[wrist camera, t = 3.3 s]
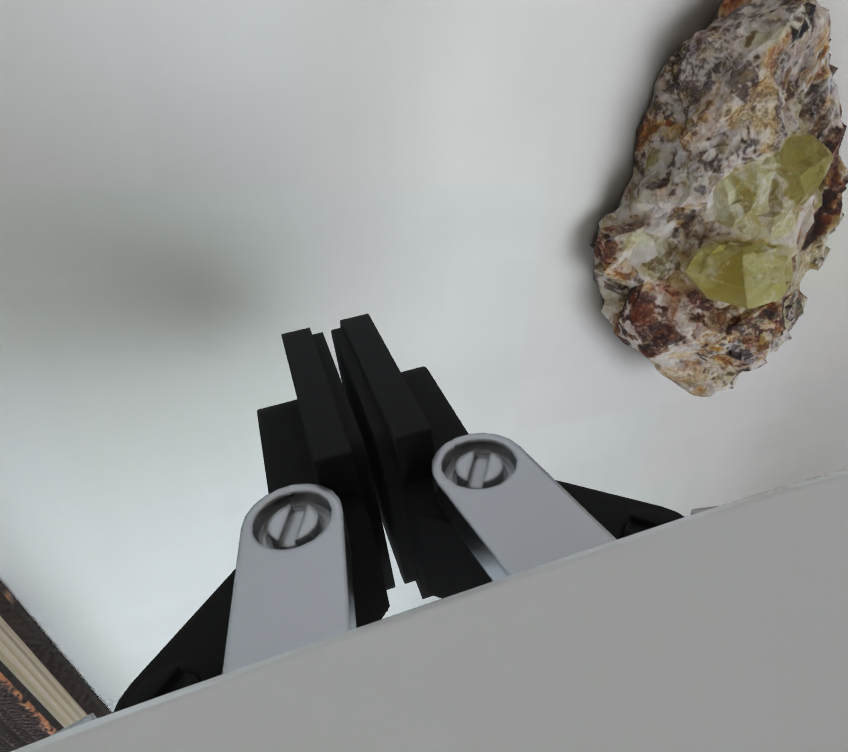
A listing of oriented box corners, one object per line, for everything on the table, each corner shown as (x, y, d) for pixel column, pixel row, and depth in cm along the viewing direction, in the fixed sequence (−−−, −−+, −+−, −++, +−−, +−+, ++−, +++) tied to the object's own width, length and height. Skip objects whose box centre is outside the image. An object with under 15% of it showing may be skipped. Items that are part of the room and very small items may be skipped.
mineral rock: (857, 354, 20) (694, 464, 16) (732, 313, 23) (575, 397, 20) (970, -52, 14) (756, -10, 11) (783, -30, 17) (575, 7, 14)
